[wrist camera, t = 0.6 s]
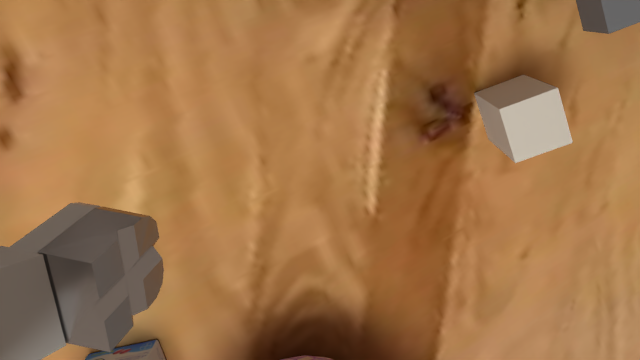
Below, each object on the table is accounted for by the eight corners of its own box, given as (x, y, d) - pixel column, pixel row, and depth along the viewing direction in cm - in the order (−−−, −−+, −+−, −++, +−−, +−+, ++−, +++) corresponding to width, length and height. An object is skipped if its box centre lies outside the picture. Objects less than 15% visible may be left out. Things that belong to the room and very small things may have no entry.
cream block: (474, 93, 50) (499, 109, 43) (523, 74, 50) (557, 87, 42) (488, 139, 52) (515, 162, 44) (536, 121, 51) (572, 142, 43)
